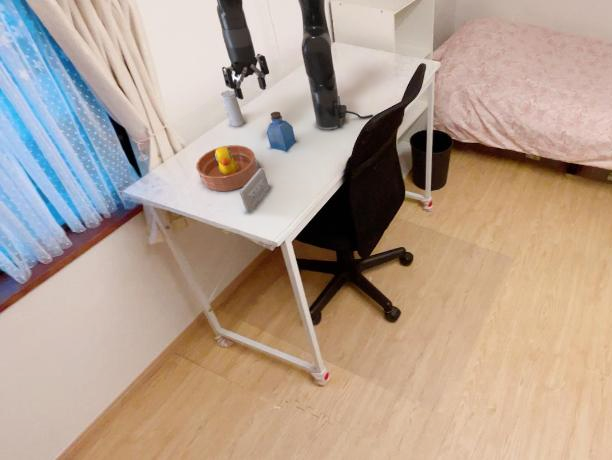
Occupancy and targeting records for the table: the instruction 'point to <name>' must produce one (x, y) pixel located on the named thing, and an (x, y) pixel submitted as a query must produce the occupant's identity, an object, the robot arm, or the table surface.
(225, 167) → the duckling
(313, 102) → the robot arm
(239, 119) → the beverage can
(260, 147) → the table surface
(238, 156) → the bowl
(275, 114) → the perfume bottle
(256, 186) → the cassette
